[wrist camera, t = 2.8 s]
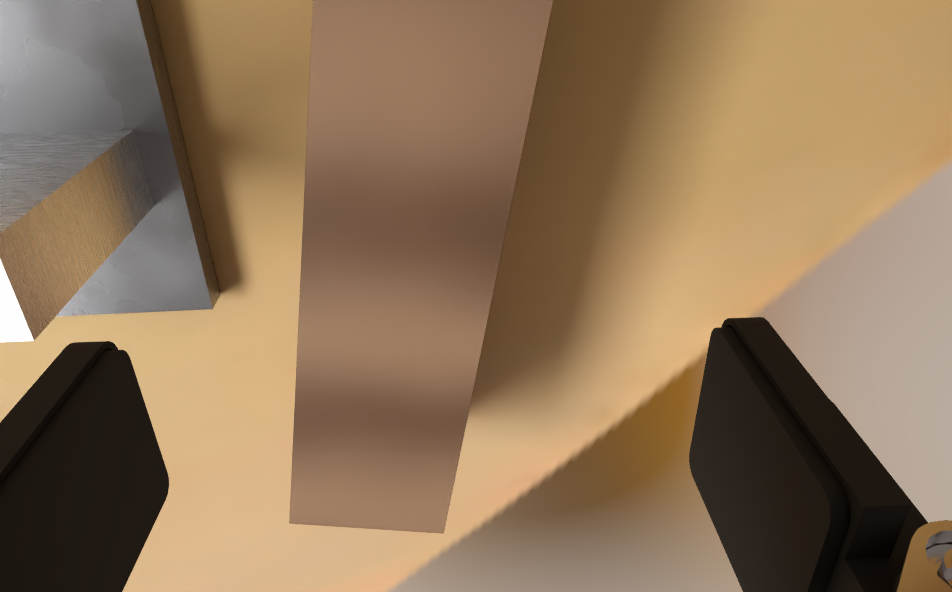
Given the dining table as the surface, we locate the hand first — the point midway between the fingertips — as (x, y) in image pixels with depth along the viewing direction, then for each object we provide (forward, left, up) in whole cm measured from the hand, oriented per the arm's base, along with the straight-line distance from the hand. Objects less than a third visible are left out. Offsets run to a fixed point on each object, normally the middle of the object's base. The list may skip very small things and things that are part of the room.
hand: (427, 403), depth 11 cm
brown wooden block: (0, -1, -13) cm, 13 cm away
